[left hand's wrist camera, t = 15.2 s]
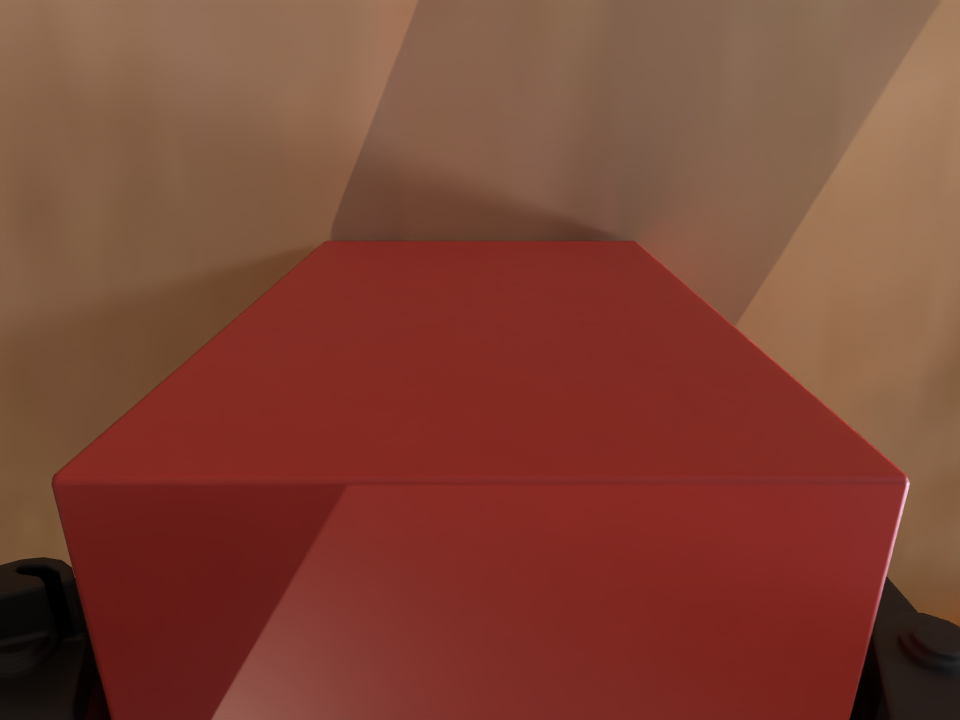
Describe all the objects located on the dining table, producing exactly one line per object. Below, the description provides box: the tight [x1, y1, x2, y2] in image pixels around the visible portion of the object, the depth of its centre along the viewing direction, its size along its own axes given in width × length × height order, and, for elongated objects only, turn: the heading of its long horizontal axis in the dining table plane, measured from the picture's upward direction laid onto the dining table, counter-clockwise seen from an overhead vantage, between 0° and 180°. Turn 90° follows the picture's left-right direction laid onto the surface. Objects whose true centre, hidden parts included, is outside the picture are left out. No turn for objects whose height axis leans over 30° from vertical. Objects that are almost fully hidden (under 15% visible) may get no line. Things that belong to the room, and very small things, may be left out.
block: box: [52, 241, 910, 720], centre depth 12 cm, size 8×7×11 cm
